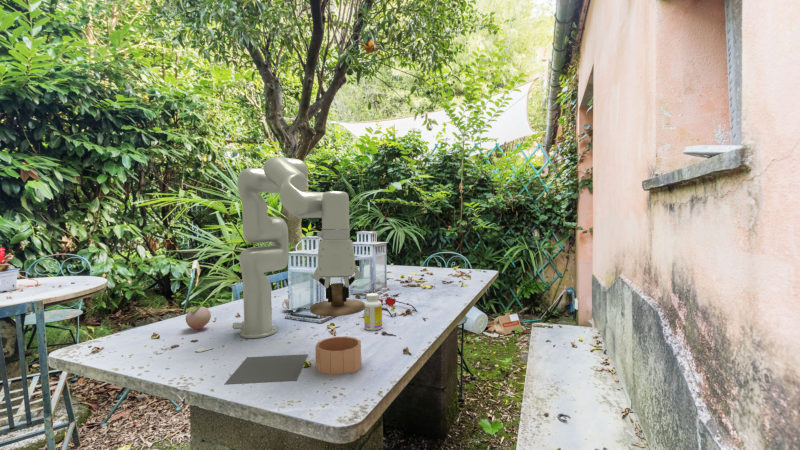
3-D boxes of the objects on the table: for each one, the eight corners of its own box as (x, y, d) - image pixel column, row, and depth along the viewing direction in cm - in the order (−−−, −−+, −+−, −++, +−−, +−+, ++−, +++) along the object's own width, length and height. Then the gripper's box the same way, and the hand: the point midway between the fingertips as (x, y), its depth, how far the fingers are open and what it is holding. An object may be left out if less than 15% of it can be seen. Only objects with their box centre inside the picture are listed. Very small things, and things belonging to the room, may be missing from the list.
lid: (306, 317, 96) (305, 290, 96) (314, 303, 111) (313, 280, 111) (364, 314, 97) (363, 288, 97) (364, 301, 112) (364, 278, 112)
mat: (223, 386, 93) (223, 384, 93) (247, 359, 111) (247, 357, 111) (296, 382, 95) (296, 380, 95) (308, 356, 113) (308, 354, 113)
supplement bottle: (383, 325, 142) (382, 292, 142) (380, 331, 136) (380, 296, 135) (366, 325, 143) (365, 292, 143) (362, 331, 136) (362, 296, 136)
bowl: (313, 377, 98) (312, 352, 98) (319, 359, 110) (319, 337, 110) (360, 374, 99) (360, 350, 99) (361, 357, 111) (361, 335, 111)
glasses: (394, 305, 175) (394, 295, 175) (417, 312, 162) (417, 301, 162) (370, 311, 166) (369, 299, 166) (392, 318, 153) (392, 306, 153)
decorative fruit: (209, 332, 138) (209, 305, 138) (184, 335, 135) (183, 308, 135) (212, 325, 147) (211, 300, 147) (188, 328, 144) (187, 302, 144)
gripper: (303, 237, 99) (305, 305, 100) (365, 235, 101) (367, 303, 101) (308, 235, 107) (309, 299, 107) (366, 234, 108) (367, 297, 108)
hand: (337, 300), depth 104 cm, fingers closed on lid, 3 cm apart
